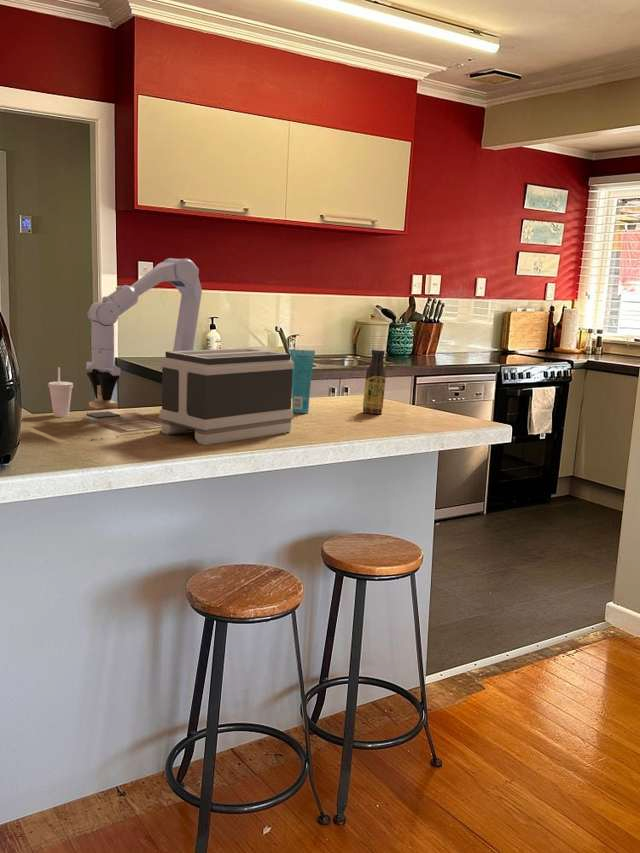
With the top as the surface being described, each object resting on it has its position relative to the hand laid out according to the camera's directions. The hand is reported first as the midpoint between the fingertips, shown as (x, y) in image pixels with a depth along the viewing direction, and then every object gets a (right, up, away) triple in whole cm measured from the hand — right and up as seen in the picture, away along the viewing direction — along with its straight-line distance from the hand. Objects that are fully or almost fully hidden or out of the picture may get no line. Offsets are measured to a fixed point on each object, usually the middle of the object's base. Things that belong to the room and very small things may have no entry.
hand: (103, 399), depth 209 cm
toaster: (+35, -9, -3) cm, 36 cm away
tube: (+52, -3, +31) cm, 60 cm away
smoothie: (-12, -5, +3) cm, 14 cm away
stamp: (0, -2, 0) cm, 2 cm away
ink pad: (0, -5, +1) cm, 5 cm away
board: (+7, -7, -1) cm, 10 cm away
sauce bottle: (+74, -3, +36) cm, 83 cm away
